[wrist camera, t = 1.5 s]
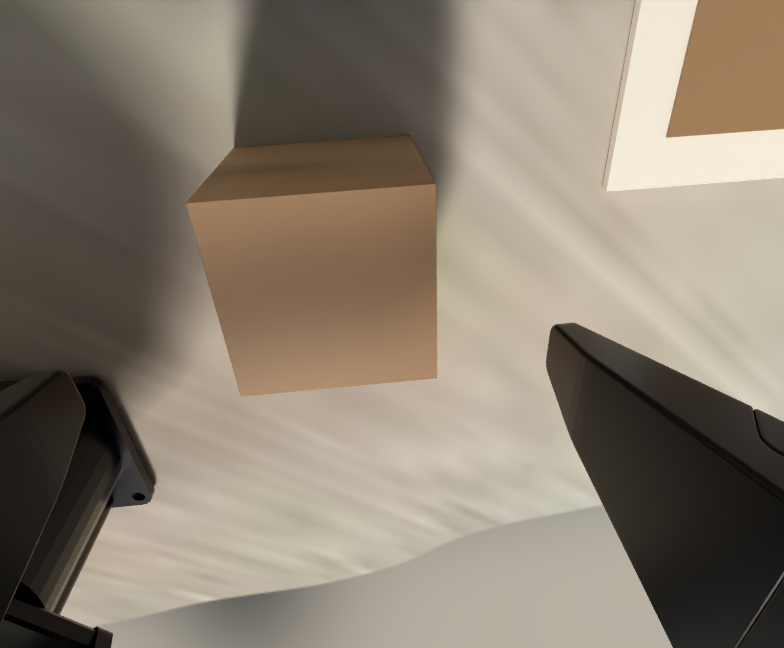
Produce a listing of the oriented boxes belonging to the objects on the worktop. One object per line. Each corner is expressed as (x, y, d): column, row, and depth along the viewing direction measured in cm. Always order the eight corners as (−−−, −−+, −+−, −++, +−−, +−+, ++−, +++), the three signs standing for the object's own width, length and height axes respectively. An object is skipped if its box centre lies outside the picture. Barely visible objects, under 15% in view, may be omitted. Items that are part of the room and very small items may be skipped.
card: (816, 171, 16) (827, 175, 15) (602, 188, 15) (607, 192, 15) (936, -121, 12) (953, -125, 11) (654, -106, 12) (663, -109, 11)
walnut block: (414, 287, 17) (437, 378, 12) (267, 299, 17) (240, 396, 12) (408, 134, 14) (436, 184, 10) (234, 146, 14) (185, 203, 10)
